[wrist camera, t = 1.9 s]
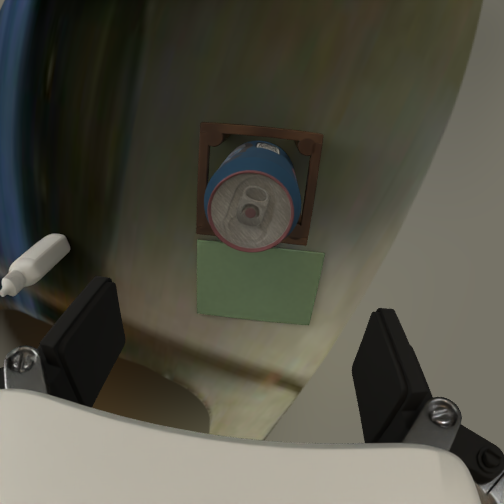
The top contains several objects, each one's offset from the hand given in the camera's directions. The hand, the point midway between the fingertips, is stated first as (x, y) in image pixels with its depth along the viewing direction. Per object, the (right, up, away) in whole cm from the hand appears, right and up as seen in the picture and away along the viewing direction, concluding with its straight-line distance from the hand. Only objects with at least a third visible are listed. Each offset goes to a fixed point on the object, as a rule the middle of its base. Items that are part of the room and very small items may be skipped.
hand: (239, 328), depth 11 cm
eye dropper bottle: (-26, +4, +26) cm, 37 cm away
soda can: (+1, +11, +21) cm, 24 cm away
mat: (+1, -1, +27) cm, 27 cm away
